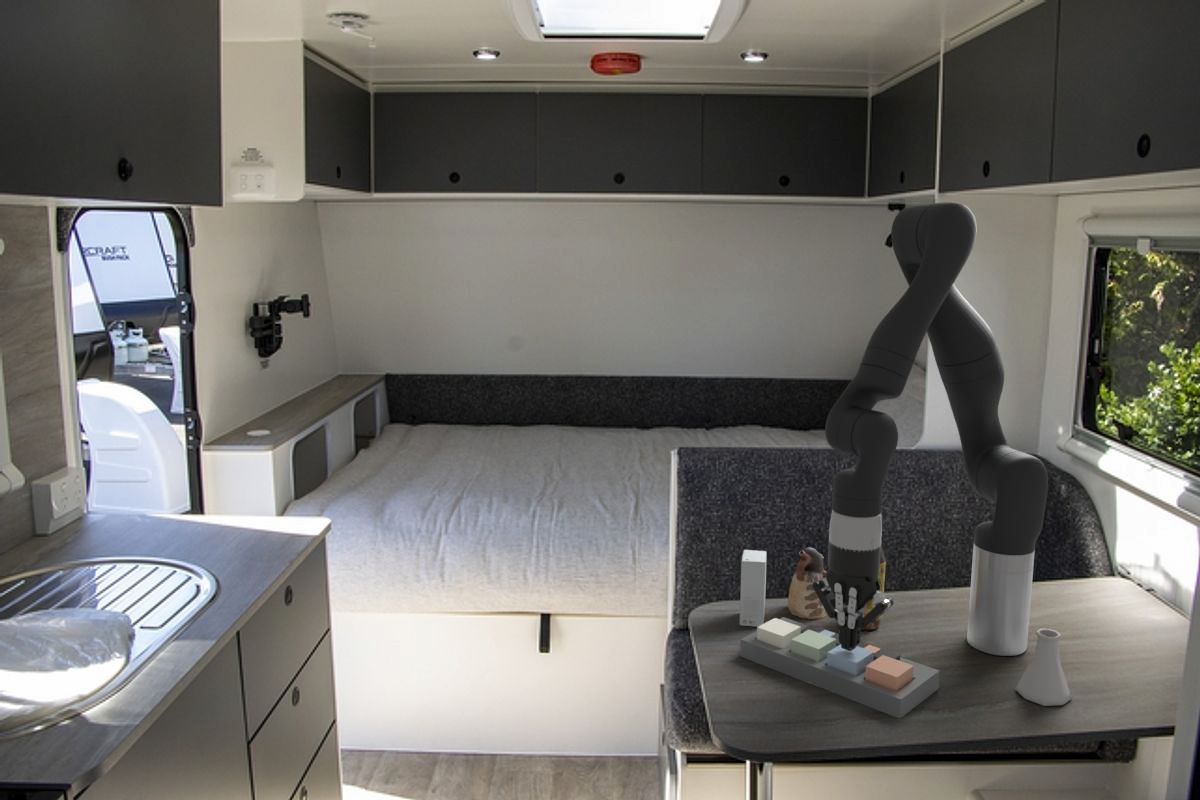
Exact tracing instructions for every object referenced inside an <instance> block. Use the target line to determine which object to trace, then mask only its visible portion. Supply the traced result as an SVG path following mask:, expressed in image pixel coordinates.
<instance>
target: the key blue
mask: <svg viewBox="0 0 1200 800" xmlns="http://www.w3.org/2000/svg"><path fill="white" fill-rule="evenodd" d="M873 658H874V652H873V651H870V650H867V649H864V648H861V647H858V646H857V647H856V648H855V649H854V650H852V651H849V650H846V649H843V648H841V644H840V645H839V646H837V647H835V648H834V649H832V650H830V651H829V652H827V666H830V667H832V668H835V669H838V670H840V671H843V672H846V673H848V674H851V675H854V676H859V675H860V674H862V673H863V672H865V671H866V666H867V665H868V664H870V663H871V662H873Z"/></svg>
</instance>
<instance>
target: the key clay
mask: <svg viewBox="0 0 1200 800" xmlns="http://www.w3.org/2000/svg"><path fill="white" fill-rule="evenodd" d="M913 669H914V666H913V665H910V664H907V663H904V662H902V661H899V660H896V659H893V658H890V657H887V656H884V655H882V656H881V657H879V658H878V659H876V660H874V661H873V662H871V663H870V664H868V665H867V666H866V674H865V680H867V681H870V682H873V683H875V684H878V685H881V686H884V687H886V688H889V689H892V690H894V691H897V692H898V691H899V690H900V689H902V688H903V687H904V686H906V685H907V684H908V683H910V682H911V681H913Z"/></svg>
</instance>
